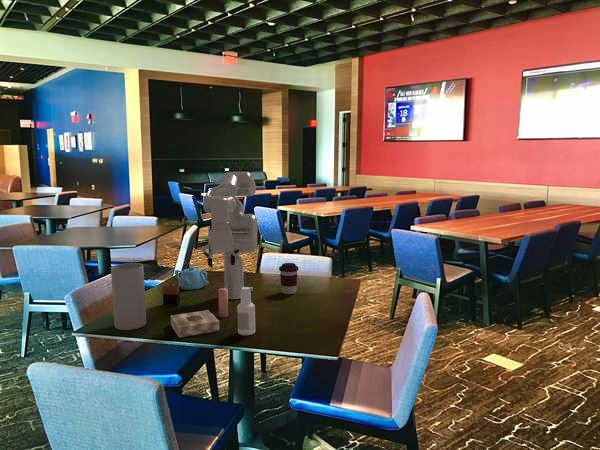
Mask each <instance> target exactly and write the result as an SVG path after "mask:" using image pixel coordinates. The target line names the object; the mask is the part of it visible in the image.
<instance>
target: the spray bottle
mask: <svg viewBox="0 0 600 450" xmlns="http://www.w3.org/2000/svg"><path fill="white" fill-rule="evenodd" d="M236 310H237V311H236V312H237V313H236V314H237V333H238V335H240V336H250V335H251V336H252V335H254V334H255V333H256V305H255V304H254V303H253V302H252V295H251V291H250V288H249V286H245V287H242V288H241V298H240V303H238V304H237V306H236Z"/></svg>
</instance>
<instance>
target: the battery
mask: <svg viewBox="0 0 600 450" xmlns="http://www.w3.org/2000/svg"><path fill="white" fill-rule="evenodd" d="M180 293H181V292H180V286H179V285H178V283H172V284H169V283H165V285H164V286H162V302H163V303H162V305H163V306H166V307H168V306H169V307H177V306H178V305H180V304H181V300H180V299H181V297H180V296H181V294H180Z"/></svg>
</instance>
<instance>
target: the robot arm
mask: <svg viewBox="0 0 600 450" xmlns="http://www.w3.org/2000/svg"><path fill="white" fill-rule="evenodd" d="M256 191H257V187H256V181H255V179H254V177H253V175H252V174H251V173H250V172H249V171H228V172H226V173H225V174H224V175H223V177H222V179H221V182H220V184H218V185H216V186H214V187H212V188H210V189H208V191H207V192H206V194H205V196H204V198H203V205H202V207H203V210H204V212H205V213H207V214H210V216H211V217H210V218H211V224H210V225H211V229H210V230H209V233H208V242H207V243H208V244H205V245H204V246H202V247H200V250H201V252H202V254H203V255H204V256H205V257H206V258H207V265H208V266H209V268H213V265H214V264H213V256H214V254H215V255H216V254H223V275H224V276H223V279H224V288H227V289H228V300H241V288H242V287H246V286H245V284H244V261H243V259H242V257H241V256H240V255H239V254H248V253H249V254H251V253H255V252H256V250H257V248H258V247H257V246H258V231H259V230H258V228H259V227H258V226H259V225H258V223H259V222H258V218H257V216H256V215H255V214H252V213H244V210H245V209H244V207H245V206H244V204H243V203H242V202H241V200H239V199H238V197H253V196H254V195H255V194H256ZM206 250H208V253H207V251H206ZM248 287H249V286H248ZM249 288H250V292H252V291H254V287H253V286H250V287H249Z"/></svg>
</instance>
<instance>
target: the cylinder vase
mask: <svg viewBox="0 0 600 450" xmlns="http://www.w3.org/2000/svg"><path fill="white" fill-rule="evenodd" d="M144 270H145V269H144V264H143V263H139V262H138V263H137V262H135V263H134V262H130V263H121V264H120V263H119V264H115V265H113V266H111V267H110V275H111V279H110V280H111V292H112V293H111V294H112V308H113V309H112V310H113V322H114V327H115V328H116V330H120V331H132V330H133V331H134V330H137V329H140V328H142V327H145V325H147V307H146V304H147V303H146V289H145V288H146V287H145V271H144Z"/></svg>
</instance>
